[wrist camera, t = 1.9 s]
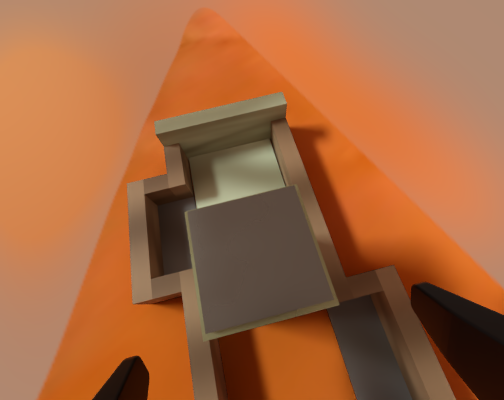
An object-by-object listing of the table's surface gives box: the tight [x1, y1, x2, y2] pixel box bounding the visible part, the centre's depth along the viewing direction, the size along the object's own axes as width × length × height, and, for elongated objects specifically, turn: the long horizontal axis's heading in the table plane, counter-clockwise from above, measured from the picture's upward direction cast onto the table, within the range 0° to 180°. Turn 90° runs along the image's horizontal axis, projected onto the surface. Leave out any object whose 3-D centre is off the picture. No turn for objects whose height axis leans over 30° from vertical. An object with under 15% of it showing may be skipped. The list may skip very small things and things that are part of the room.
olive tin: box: [185, 184, 339, 342], centre depth 13 cm, size 4×4×10 cm
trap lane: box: [127, 92, 456, 400], centre depth 16 cm, size 22×16×4 cm
